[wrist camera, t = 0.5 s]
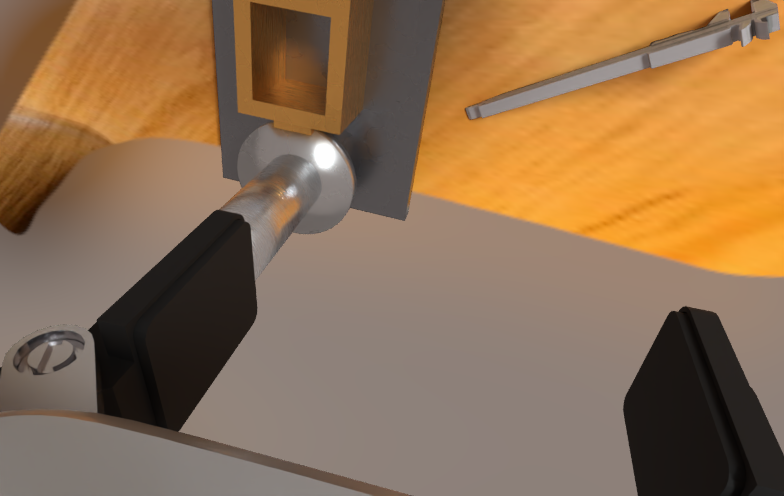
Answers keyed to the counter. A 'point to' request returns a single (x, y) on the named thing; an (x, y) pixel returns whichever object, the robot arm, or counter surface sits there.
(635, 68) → the caliper
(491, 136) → the counter surface
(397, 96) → the post
